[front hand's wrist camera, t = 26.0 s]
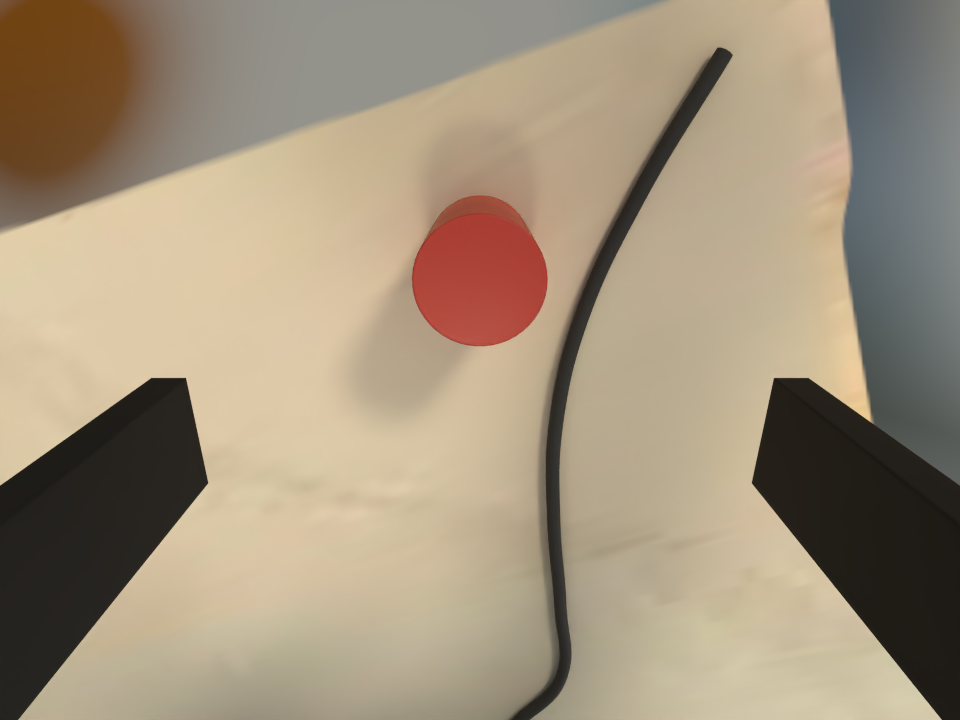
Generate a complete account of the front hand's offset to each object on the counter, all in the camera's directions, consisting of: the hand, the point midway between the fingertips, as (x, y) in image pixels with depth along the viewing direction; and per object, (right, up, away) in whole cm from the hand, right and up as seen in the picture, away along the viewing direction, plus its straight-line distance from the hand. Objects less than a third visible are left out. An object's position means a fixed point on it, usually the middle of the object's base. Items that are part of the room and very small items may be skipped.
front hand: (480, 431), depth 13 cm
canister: (0, +9, +22) cm, 23 cm away
